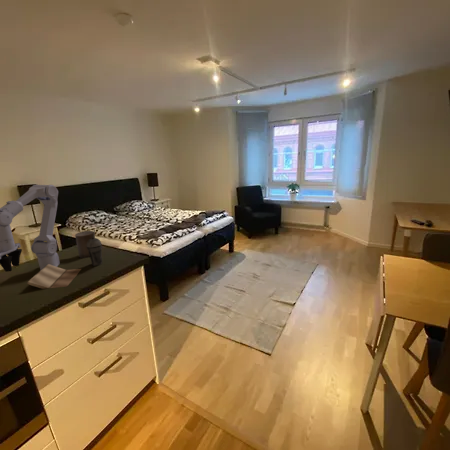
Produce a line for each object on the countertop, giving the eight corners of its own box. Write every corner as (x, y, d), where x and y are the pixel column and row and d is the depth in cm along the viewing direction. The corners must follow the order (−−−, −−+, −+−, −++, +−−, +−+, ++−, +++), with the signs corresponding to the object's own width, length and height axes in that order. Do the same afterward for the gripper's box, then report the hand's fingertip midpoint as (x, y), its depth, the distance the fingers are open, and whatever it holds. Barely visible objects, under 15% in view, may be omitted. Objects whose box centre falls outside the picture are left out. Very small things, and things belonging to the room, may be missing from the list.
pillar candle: (100, 254, 149) (96, 230, 145) (84, 259, 141) (80, 234, 137) (91, 251, 154) (87, 227, 150) (75, 256, 146) (70, 232, 142)
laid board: (67, 272, 127) (66, 269, 126) (82, 270, 128) (81, 268, 127) (50, 290, 110) (49, 287, 109) (67, 288, 111) (67, 286, 110)
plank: (47, 266, 124) (48, 264, 124) (65, 271, 126) (66, 269, 126) (26, 283, 107) (27, 281, 107) (47, 290, 109) (48, 287, 109)
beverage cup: (87, 265, 133) (81, 230, 128) (101, 261, 138) (96, 227, 133) (93, 270, 129) (86, 233, 123) (107, 265, 134) (101, 230, 128)
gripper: (5, 234, 112) (12, 262, 116) (-19, 246, 99) (-10, 276, 102) (22, 233, 113) (29, 261, 117) (1, 244, 100) (9, 275, 103)
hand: (12, 268), depth 110 cm, fingers open, 5 cm apart
